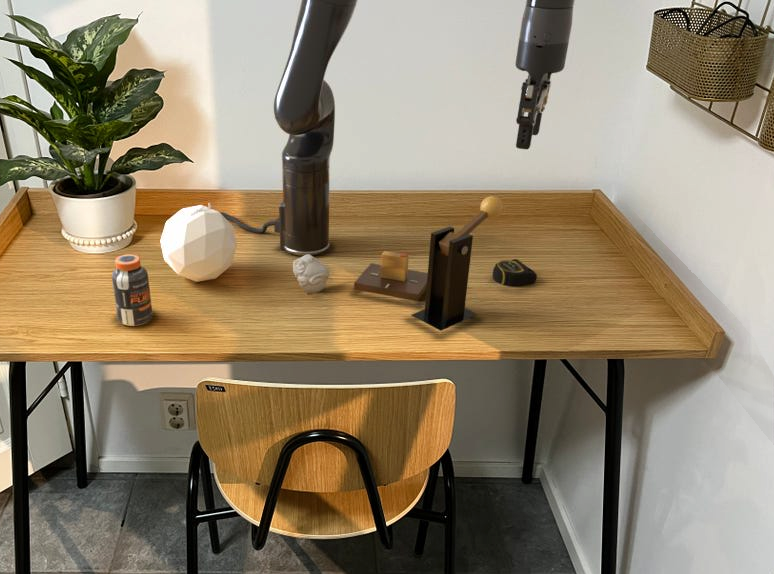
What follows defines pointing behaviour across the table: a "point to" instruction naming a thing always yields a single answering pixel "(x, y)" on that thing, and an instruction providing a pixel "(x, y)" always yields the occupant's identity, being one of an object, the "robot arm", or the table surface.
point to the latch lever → (475, 221)
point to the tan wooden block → (394, 266)
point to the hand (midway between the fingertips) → (527, 141)
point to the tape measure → (513, 273)
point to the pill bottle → (131, 291)
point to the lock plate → (392, 283)
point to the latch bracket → (447, 282)
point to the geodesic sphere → (198, 243)
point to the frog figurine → (310, 274)
